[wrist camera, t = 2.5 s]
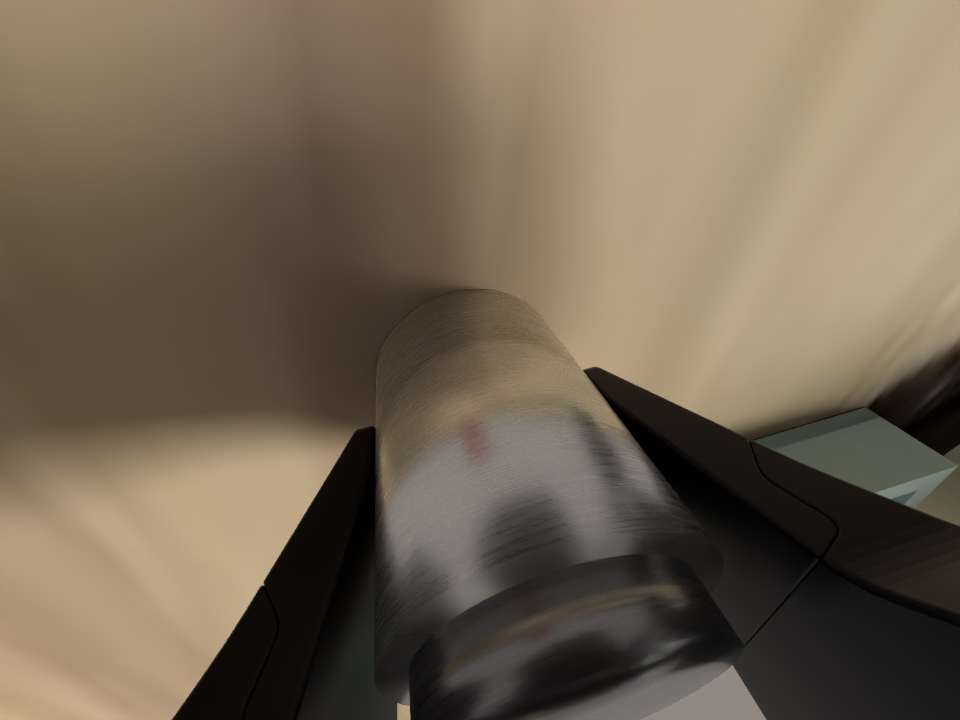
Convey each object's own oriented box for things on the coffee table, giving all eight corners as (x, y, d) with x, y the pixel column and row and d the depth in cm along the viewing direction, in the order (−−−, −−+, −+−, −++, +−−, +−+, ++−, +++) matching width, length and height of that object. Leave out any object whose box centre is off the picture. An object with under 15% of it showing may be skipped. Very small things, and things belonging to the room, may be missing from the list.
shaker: (553, 269, 9) (856, 559, 3) (556, 414, 11) (718, 697, 6) (347, 317, 8) (286, 754, 3) (404, 455, 11) (430, 802, 6)
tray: (865, 407, 15) (958, 465, 13) (771, 546, 23) (819, 601, 20) (499, 516, 14) (525, 605, 11) (522, 628, 21) (541, 699, 19)
